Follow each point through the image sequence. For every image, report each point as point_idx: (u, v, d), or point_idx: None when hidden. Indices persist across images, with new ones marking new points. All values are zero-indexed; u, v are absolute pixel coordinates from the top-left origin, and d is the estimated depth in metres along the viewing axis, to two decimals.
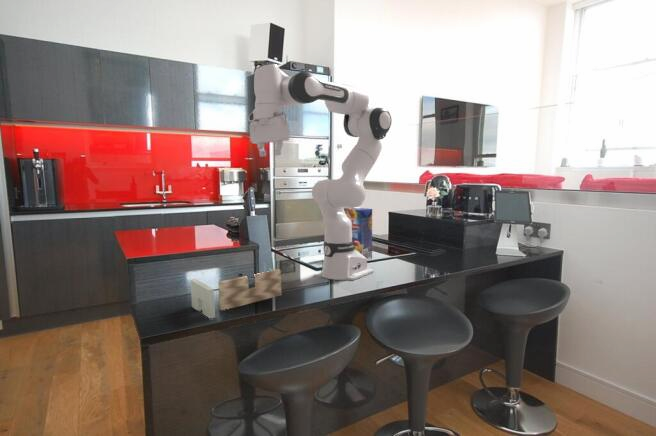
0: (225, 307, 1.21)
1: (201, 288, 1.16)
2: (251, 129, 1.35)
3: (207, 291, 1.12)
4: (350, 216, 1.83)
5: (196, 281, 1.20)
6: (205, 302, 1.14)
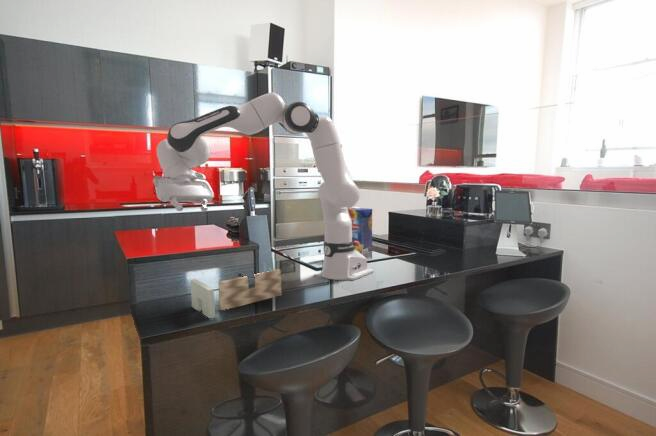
0: (225, 307, 1.21)
1: (201, 288, 1.16)
2: None
3: (207, 291, 1.12)
4: (350, 216, 1.83)
5: (196, 281, 1.20)
6: (205, 302, 1.14)
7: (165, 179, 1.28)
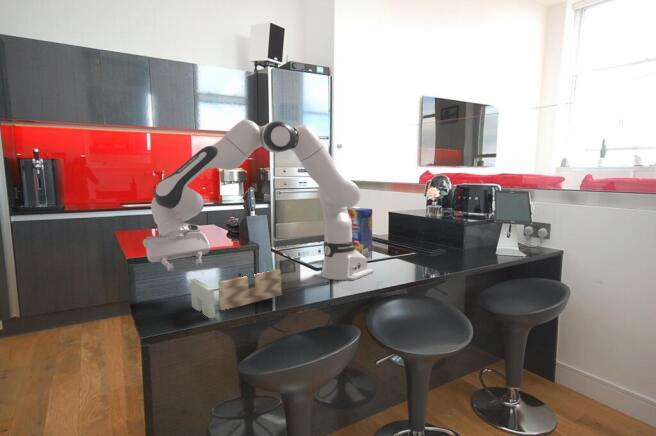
0: (225, 307, 1.21)
1: (201, 288, 1.16)
2: None
3: (207, 291, 1.12)
4: (350, 216, 1.83)
5: (196, 281, 1.20)
6: (205, 302, 1.14)
7: (154, 239, 1.26)
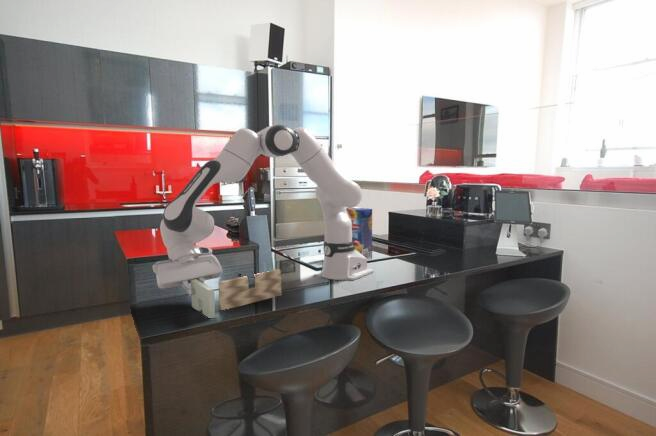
0: (225, 307, 1.21)
1: (201, 288, 1.16)
2: None
3: (207, 291, 1.12)
4: (350, 216, 1.83)
5: (196, 281, 1.20)
6: (205, 302, 1.14)
7: (164, 264, 1.20)
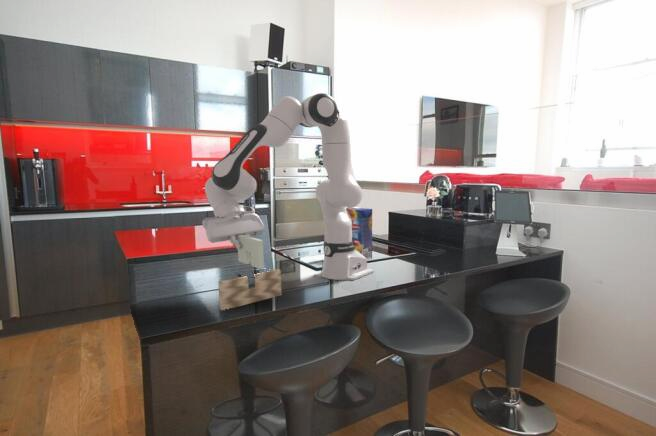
0: (225, 307, 1.21)
1: (250, 240, 1.23)
2: None
3: (257, 242, 1.19)
4: (350, 216, 1.83)
5: (243, 236, 1.27)
6: (254, 253, 1.21)
7: (213, 219, 1.27)
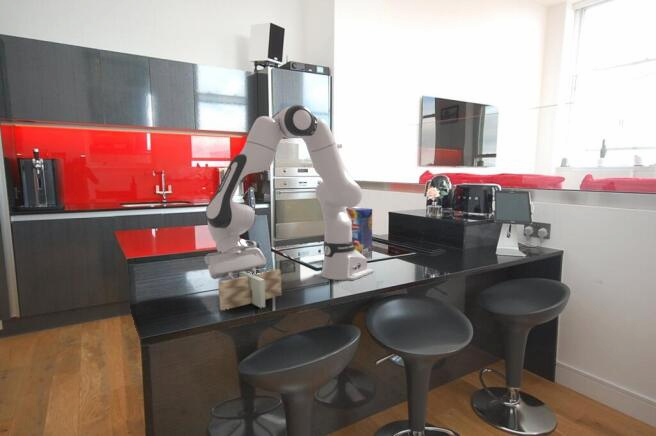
0: (225, 307, 1.21)
1: (252, 279, 1.24)
2: None
3: (258, 281, 1.21)
4: (350, 216, 1.83)
5: (245, 273, 1.29)
6: (256, 292, 1.23)
7: (215, 255, 1.29)
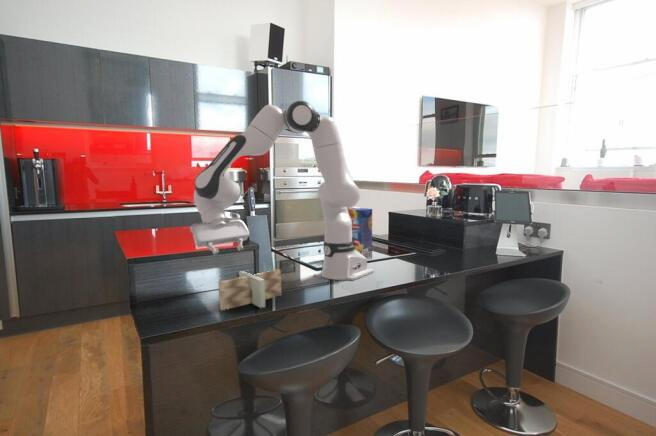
0: (225, 307, 1.21)
1: (252, 279, 1.24)
2: None
3: (258, 281, 1.21)
4: (350, 216, 1.83)
5: (245, 273, 1.29)
6: (256, 292, 1.23)
7: (200, 225, 1.37)
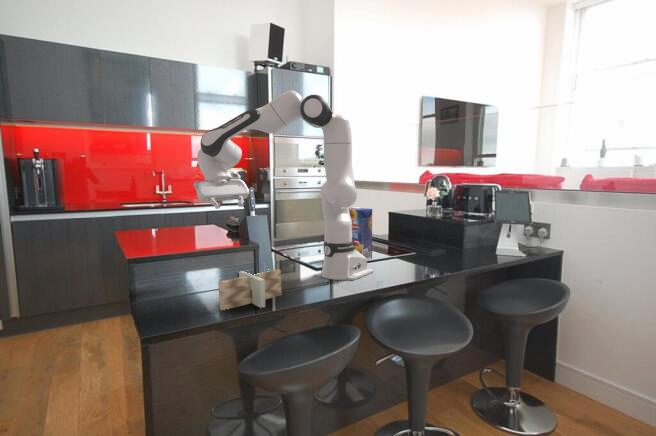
0: (225, 307, 1.21)
1: (252, 279, 1.24)
2: None
3: (258, 281, 1.21)
4: (350, 216, 1.83)
5: (245, 273, 1.29)
6: (256, 292, 1.23)
7: (203, 182, 1.46)
